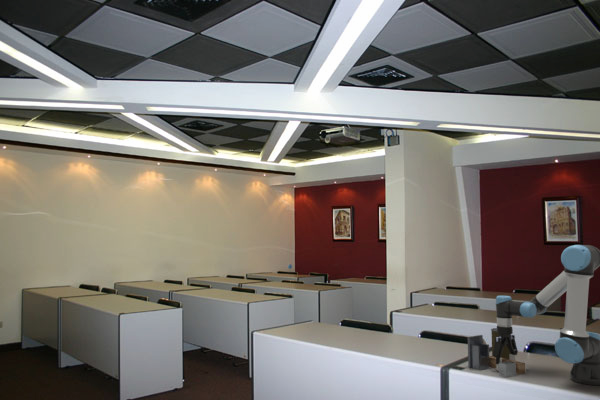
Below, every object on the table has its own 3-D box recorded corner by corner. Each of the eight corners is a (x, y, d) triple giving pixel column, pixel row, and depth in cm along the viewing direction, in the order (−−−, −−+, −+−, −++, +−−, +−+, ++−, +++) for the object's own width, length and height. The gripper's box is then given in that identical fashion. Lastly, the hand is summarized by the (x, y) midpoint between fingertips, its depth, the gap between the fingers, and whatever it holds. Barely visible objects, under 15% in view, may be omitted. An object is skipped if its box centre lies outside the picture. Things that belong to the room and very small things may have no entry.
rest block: (516, 374, 231) (515, 362, 231) (506, 377, 226) (506, 364, 227) (508, 373, 234) (508, 360, 234) (499, 375, 230) (498, 362, 230)
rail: (525, 373, 234) (525, 363, 235) (519, 374, 231) (519, 364, 232) (493, 365, 249) (493, 355, 250) (487, 366, 246) (487, 356, 247)
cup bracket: (491, 367, 244) (490, 336, 245) (477, 370, 238) (476, 338, 239) (481, 365, 249) (480, 334, 250) (468, 368, 243) (467, 336, 244)
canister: (514, 364, 250) (513, 326, 252) (494, 363, 252) (492, 326, 254) (509, 359, 261) (508, 323, 263) (490, 358, 263) (488, 322, 265)
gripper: (510, 322, 252) (512, 364, 250) (484, 326, 239) (485, 370, 237) (524, 324, 246) (525, 367, 244) (497, 329, 233) (499, 374, 231)
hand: (506, 369), depth 240 cm, fingers open, 11 cm apart
